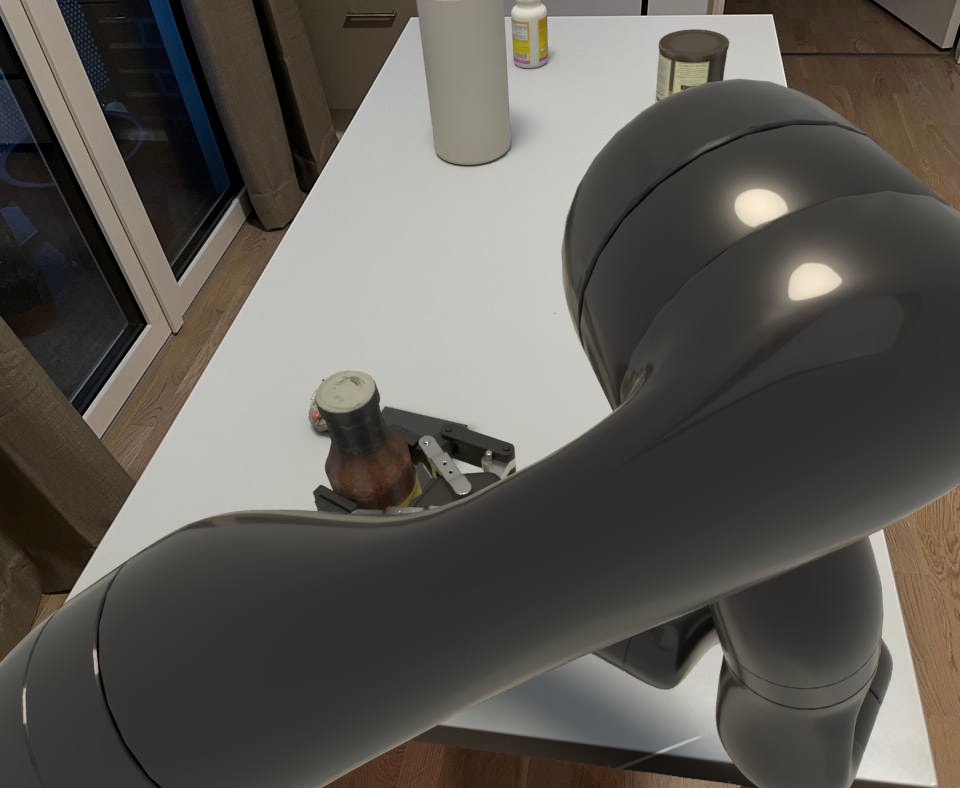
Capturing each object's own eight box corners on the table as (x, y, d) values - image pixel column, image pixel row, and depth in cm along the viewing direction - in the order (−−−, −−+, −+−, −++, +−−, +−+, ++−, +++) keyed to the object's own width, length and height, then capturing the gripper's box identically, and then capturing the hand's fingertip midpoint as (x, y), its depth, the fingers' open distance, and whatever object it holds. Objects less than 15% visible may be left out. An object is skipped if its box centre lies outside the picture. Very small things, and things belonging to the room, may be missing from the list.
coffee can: (700, 111, 133) (711, 24, 123) (727, 138, 126) (741, 48, 116) (642, 121, 132) (648, 35, 122) (666, 150, 125) (675, 60, 115)
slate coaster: (431, 498, 79) (431, 495, 79) (343, 475, 82) (342, 472, 82) (468, 428, 86) (467, 424, 85) (385, 409, 89) (384, 405, 88)
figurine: (361, 419, 88) (351, 380, 84) (334, 445, 85) (322, 406, 81) (327, 401, 90) (315, 363, 86) (299, 426, 88) (286, 387, 84)
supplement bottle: (544, 53, 155) (543, -17, 146) (551, 67, 150) (550, -5, 141) (511, 57, 155) (507, -13, 146) (516, 71, 150) (512, -1, 141)
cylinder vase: (523, 154, 127) (517, -12, 110) (451, 174, 125) (432, 7, 107) (492, 123, 136) (482, -36, 118) (424, 141, 133) (403, -19, 115)
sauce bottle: (426, 522, 68) (390, 344, 54) (446, 581, 63) (413, 403, 50) (351, 545, 66) (295, 369, 53) (366, 607, 62) (310, 433, 48)
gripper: (601, 453, 52) (402, 368, 60) (479, 621, 44) (266, 499, 52) (597, 521, 58) (415, 436, 65) (488, 683, 49) (293, 564, 57)
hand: (350, 464), depth 58 cm, fingers closed on sauce bottle, 6 cm apart
